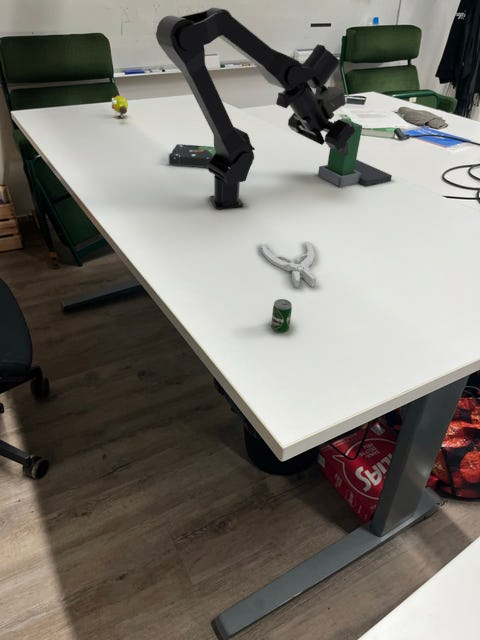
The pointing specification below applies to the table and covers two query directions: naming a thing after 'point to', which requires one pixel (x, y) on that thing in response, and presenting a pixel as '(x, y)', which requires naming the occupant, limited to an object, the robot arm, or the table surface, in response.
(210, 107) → the robot arm
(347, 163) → the green rectangular block
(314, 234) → the table surface
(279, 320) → the beer can
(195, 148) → the disk drive
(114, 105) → the toy figure
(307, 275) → the pliers
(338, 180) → the compartment tray
